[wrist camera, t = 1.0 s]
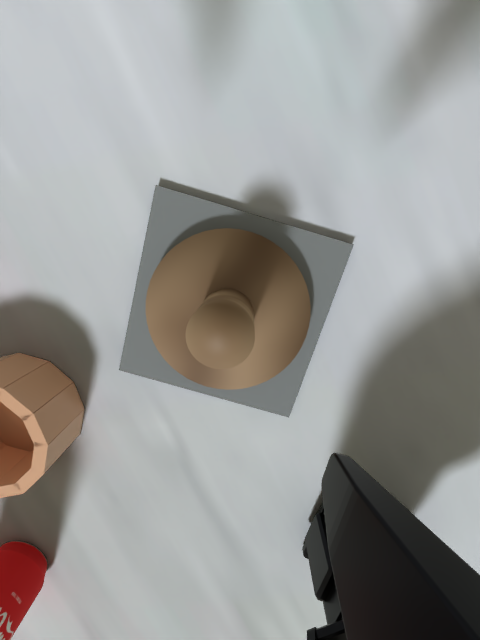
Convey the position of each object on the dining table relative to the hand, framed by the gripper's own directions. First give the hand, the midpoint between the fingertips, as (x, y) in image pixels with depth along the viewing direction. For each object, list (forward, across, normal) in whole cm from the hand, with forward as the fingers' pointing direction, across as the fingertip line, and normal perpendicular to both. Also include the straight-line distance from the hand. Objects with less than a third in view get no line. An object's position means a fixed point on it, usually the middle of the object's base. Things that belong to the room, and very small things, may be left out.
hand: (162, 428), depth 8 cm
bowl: (+12, +12, +10) cm, 19 cm away
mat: (+12, -1, -1) cm, 12 cm away
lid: (+12, -1, -1) cm, 12 cm away
